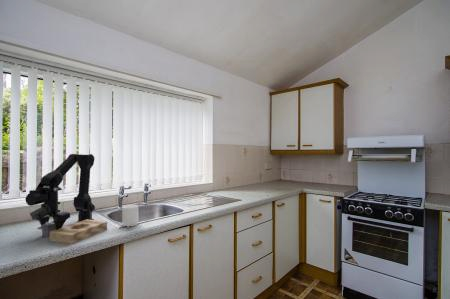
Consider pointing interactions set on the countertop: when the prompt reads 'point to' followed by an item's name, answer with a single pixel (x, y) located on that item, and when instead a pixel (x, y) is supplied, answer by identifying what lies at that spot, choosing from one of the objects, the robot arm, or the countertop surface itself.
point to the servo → (47, 229)
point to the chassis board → (78, 231)
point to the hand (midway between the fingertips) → (51, 232)
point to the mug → (130, 215)
